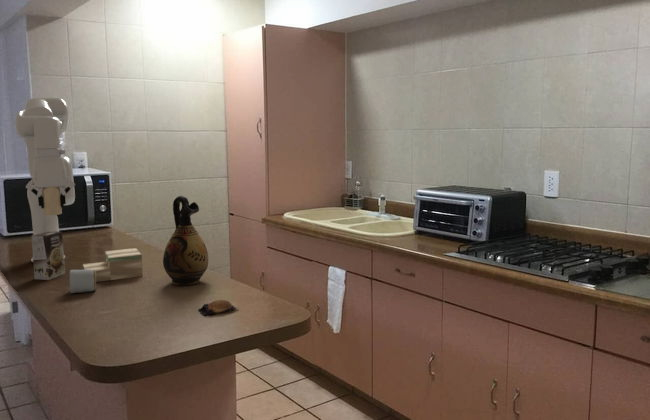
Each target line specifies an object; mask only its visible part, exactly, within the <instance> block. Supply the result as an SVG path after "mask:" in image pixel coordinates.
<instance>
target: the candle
mask: <svg viewBox="0 0 650 420" xmlns="http://www.w3.org/2000/svg"><path fill="white" fill-rule="evenodd" d="M42 195H43V206H44V215H57V216H58V215H62V214H63V211H62V210H63V207H61V195H60V189H59V188H58V187H48V188H43V190H42Z"/></svg>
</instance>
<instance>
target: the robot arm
mask: <svg viewBox="0 0 650 420" xmlns="http://www.w3.org/2000/svg"><path fill="white" fill-rule="evenodd" d="M68 108H69V107H68V104H67V102H66V101H65V100H64V99H63V98H60V97H34V98H30V99H29V100H27V101H26V103H25V107H24V109H22V110H19V111H18V112H17V113H16V115H15V120H14V125H15V130H16V133H17V135H18V136H19V138H20V139H23V141H24V143H25V147H26V154H27V162H28V171H29V175H30V177H31V180H30V181H28V183H27V184H26V185H25V189H27V191H26V193H27V195H26V196H27V200H28V204H29V209H30V213H31V223H32V235H36V234H40V233H44V232H60V230H59V229H60V226H59V217H58V215H44V206H43V195H42V190H43V188H48V187H58V188H59V189H60V195H61V208H64V207H65V206H70V205H73V204H74V203H75V201H76V200H75V199H76V192H75V190H76V189H75V186H76V183H75V182H74V171H73V166H72V161H71V159H70V158H69V157H68V156H65V155H66V150H65V149H61V144H60V137H61V135H62V134H63V133H65V132H66V130H67V128H68V127H67V126H68V119H69V109H68ZM65 258H66V255H65V254H64V259H65ZM30 260H31V263H33V257H32V258H30Z"/></svg>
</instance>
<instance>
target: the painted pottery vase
mask: <svg viewBox="0 0 650 420" xmlns="http://www.w3.org/2000/svg"><path fill="white" fill-rule="evenodd" d="M180 207H181V209H180ZM199 211H200V207H199V205H198V204H197V202H195V201H193V202H192V203H190V202H189V199H188V198H187V197H186V196H183V195H179V196H176V197H175V199H174V200H173V201H172V212H173V218H174V224H175V231H174V232H173V233H171V236H170V237H169V239H168V242H167V243H166V244H165V245H166V246H165V249H164V251H163V257H162V258H163V259H162V265H163V269H164V271H165V273H166V274H167V276H168V277H169V278H170V279H171V282H172V284H173V285H175V286H177V287H182V286H183V287H184V286H185V287H187V286H188V287H189V286H194V285H196V284H199V283H200V279H201V278H202V277H203V276H204V274H205V273H206V271H207V269H208V268H209V266H208V265H209V254H208V249H207V247H206V244H205V242H204V240H203V238H202V237H201V234H200V233H199V232H198V230H197V229H196V228H195V226H194V225H193V223H192V221H191V220H192V218H191V216H192V215H195V214H196V213H198V212H199Z"/></svg>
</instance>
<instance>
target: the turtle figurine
mask: <svg viewBox="0 0 650 420" xmlns="http://www.w3.org/2000/svg"><path fill="white" fill-rule="evenodd" d="M238 311H239V308H237V307H235V306H234V305H233V304H232V303H231V302H230V301H229V300H226V299H219V300H218V299H217V300H213V301H211V302H210V303H205V304H203V305H202V306H201V308H198V312H199V314H201V316H203V317H215V316H220V315H225V314H231V313H234V312H238Z"/></svg>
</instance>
